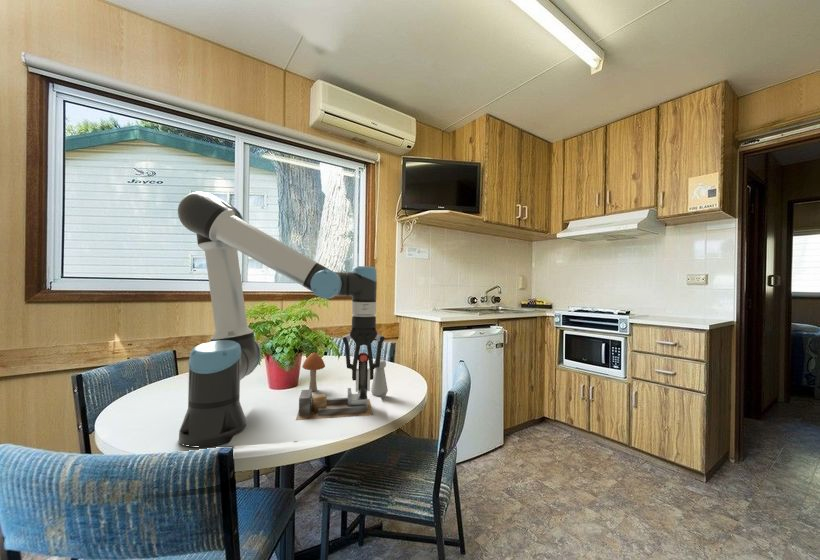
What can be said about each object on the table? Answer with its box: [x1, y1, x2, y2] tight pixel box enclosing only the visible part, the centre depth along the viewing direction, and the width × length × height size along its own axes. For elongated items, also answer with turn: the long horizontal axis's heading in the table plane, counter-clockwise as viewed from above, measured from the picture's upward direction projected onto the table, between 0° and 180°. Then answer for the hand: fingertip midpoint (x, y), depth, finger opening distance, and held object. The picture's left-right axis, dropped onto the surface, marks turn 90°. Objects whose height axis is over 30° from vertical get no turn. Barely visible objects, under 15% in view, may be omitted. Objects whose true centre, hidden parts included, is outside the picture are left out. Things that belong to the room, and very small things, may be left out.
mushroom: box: [301, 351, 326, 393], centre depth 121 cm, size 8×8×15 cm
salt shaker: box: [370, 359, 389, 399], centre depth 119 cm, size 6×6×13 cm
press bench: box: [295, 389, 375, 421], centre depth 104 cm, size 22×14×6 cm, turn 102°
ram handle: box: [347, 351, 369, 409], centre depth 106 cm, size 6×6×17 cm
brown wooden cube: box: [312, 393, 328, 412], centre depth 103 cm, size 4×4×4 cm
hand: (362, 390), depth 106 cm, fingers closed on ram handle, 3 cm apart
